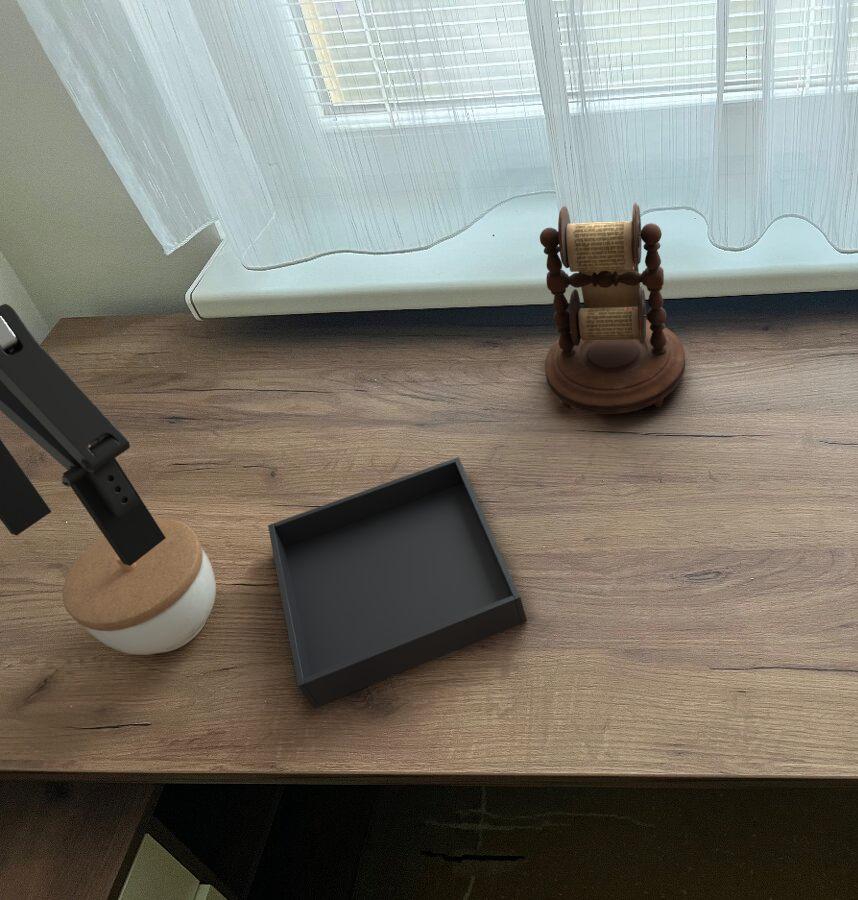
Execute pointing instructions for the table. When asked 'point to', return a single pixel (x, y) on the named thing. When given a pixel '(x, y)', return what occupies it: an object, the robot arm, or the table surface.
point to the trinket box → (143, 593)
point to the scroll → (609, 317)
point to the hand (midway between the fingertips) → (85, 536)
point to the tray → (390, 581)
